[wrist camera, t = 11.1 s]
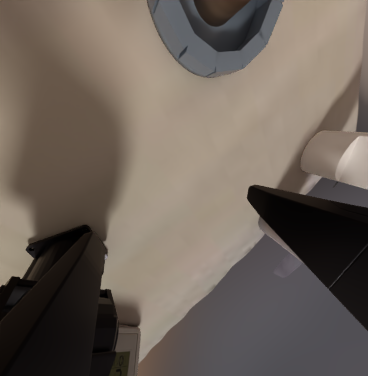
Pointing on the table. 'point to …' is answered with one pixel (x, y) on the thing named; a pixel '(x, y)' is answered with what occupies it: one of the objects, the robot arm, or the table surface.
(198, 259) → the table surface
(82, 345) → the robot arm
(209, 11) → the brown tapered cylinder
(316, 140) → the cylinder with rectangular tab
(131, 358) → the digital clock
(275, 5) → the ceramic ring dish
